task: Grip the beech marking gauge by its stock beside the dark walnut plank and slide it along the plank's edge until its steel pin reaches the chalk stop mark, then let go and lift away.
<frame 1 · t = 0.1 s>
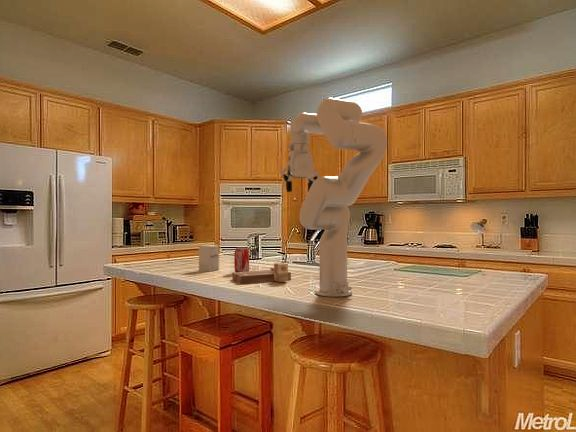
hand: (300, 192, 149), 37 cm above the table, tool pointing down, fingers open, 9 cm apart
soda can: (241, 273, 178), on the table
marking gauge: (277, 271, 155), point 4 cm above the table, slide at 0.0 cm
walnut plank: (261, 279, 158), on the table
supplement box: (208, 271, 187), on the table
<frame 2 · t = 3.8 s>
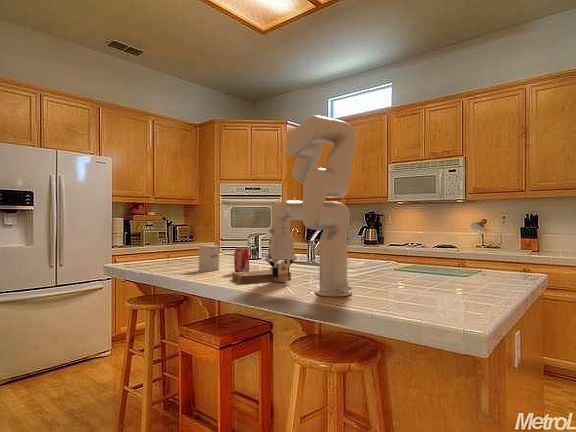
hand: (280, 276, 152), 2 cm above the table, tool pointing down, fingers closed on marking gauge, 4 cm apart
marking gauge: (277, 271, 155), point 4 cm above the table, slide at 0.0 cm, touching gripper
everything else where it was.
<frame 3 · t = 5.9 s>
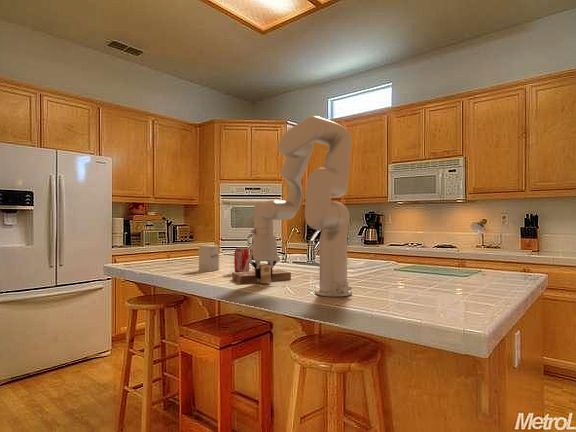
hand: (263, 277, 148), 2 cm above the table, tool pointing down, fingers closed on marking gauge, 4 cm apart
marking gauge: (260, 272, 151), point 4 cm above the table, slide at 7.5 cm, touching gripper
everything else where it was.
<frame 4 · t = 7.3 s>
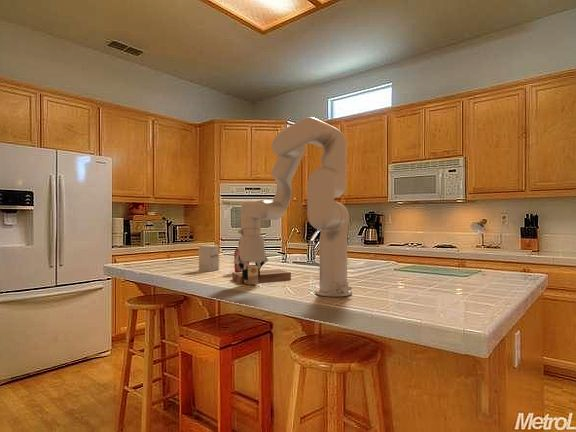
hand: (251, 278, 146), 2 cm above the table, tool pointing down, fingers closed on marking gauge, 4 cm apart
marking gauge: (248, 273, 149), point 4 cm above the table, slide at 12.9 cm, touching gripper
everything else where it was.
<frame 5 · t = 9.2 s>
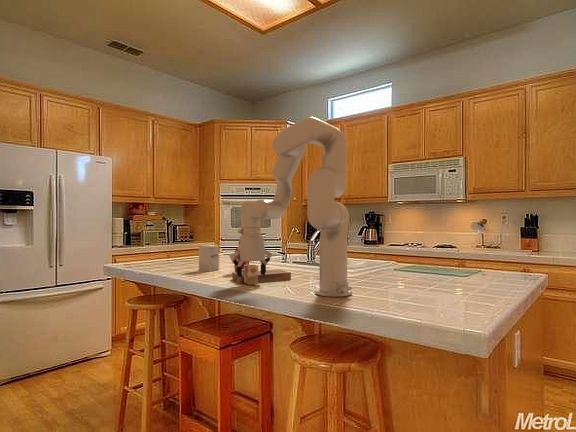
hand: (251, 275, 146), 3 cm above the table, tool pointing down, fingers open, 9 cm apart
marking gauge: (248, 273, 149), point 4 cm above the table, slide at 13.0 cm
everything else where it was.
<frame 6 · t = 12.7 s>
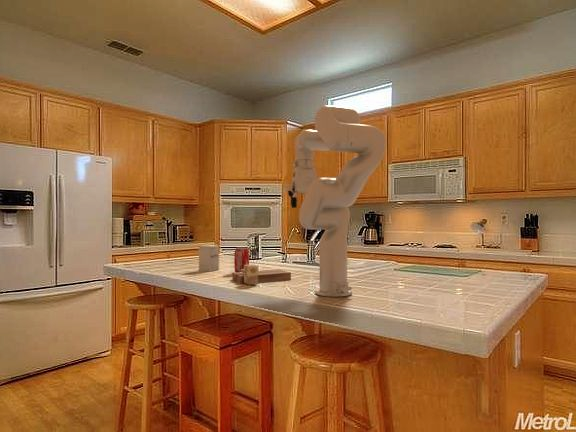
hand: (304, 207, 150), 30 cm above the table, tool pointing down, fingers open, 9 cm apart
nothing on the table moved.
at the end: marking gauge slide at 13.0 cm; the gripper is holding nothing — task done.
